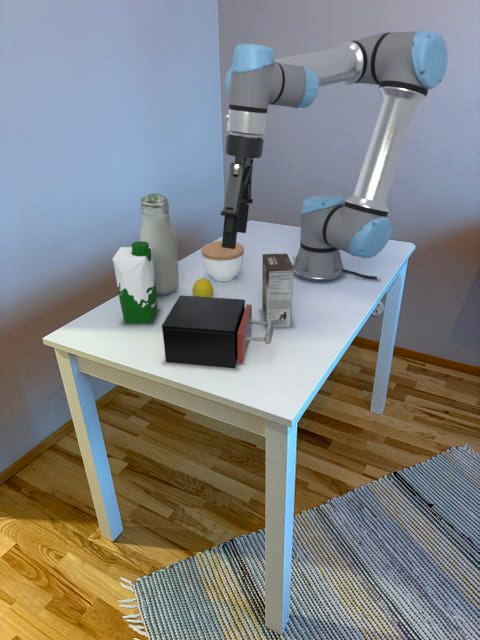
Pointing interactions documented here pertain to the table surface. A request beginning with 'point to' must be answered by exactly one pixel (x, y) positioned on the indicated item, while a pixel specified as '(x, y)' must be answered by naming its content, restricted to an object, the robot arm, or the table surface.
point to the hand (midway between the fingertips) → (234, 239)
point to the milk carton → (136, 282)
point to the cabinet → (202, 331)
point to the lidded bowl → (222, 260)
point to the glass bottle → (160, 241)
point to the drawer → (249, 333)
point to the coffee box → (277, 289)
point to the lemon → (203, 288)
